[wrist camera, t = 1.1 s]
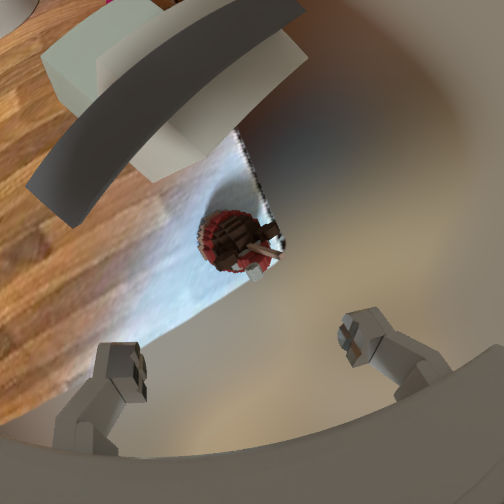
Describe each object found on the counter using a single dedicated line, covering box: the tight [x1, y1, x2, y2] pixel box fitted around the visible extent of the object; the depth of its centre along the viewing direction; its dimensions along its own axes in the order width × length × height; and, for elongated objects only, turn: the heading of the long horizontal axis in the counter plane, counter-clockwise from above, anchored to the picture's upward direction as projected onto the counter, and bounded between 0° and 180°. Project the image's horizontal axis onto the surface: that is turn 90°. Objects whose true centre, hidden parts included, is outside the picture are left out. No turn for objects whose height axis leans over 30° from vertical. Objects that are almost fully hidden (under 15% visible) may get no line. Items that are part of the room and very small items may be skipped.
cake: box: [197, 210, 285, 282], centre depth 40 cm, size 11×9×18 cm
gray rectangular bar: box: [25, 0, 306, 228], centre depth 14 cm, size 22×4×4 cm, turn 138°
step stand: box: [40, 0, 308, 183], centre depth 25 cm, size 14×22×26 cm, turn 48°
